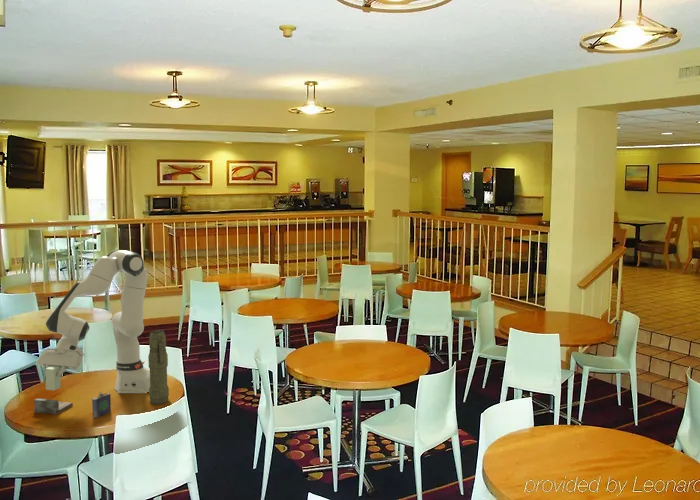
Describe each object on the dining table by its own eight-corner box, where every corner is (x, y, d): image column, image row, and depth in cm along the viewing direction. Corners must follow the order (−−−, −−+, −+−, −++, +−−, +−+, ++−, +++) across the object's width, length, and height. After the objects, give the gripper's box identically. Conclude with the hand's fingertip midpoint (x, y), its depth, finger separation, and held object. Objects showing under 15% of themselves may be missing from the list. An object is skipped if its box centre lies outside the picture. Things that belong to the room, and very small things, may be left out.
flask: (95, 419, 264) (94, 395, 263) (90, 417, 265) (89, 394, 264) (112, 412, 272) (111, 389, 271) (108, 411, 273) (107, 388, 272)
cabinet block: (60, 387, 276) (60, 366, 275) (54, 390, 272) (53, 369, 271) (52, 386, 277) (51, 365, 276) (45, 389, 273) (45, 368, 272)
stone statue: (155, 407, 279) (153, 334, 275) (145, 400, 287) (143, 330, 283) (173, 402, 285) (171, 331, 281) (162, 395, 293) (160, 327, 289)
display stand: (72, 405, 279) (72, 393, 278) (57, 414, 268) (56, 401, 268) (50, 403, 281) (49, 391, 281) (33, 412, 271) (33, 399, 270)
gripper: (42, 344, 281) (28, 370, 273) (81, 347, 278) (68, 374, 269) (49, 351, 286) (35, 377, 277) (87, 354, 282) (74, 380, 274)
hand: (52, 375), depth 273 cm, fingers closed on cabinet block, 4 cm apart
